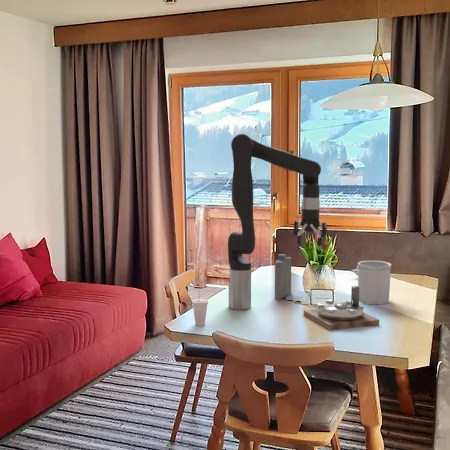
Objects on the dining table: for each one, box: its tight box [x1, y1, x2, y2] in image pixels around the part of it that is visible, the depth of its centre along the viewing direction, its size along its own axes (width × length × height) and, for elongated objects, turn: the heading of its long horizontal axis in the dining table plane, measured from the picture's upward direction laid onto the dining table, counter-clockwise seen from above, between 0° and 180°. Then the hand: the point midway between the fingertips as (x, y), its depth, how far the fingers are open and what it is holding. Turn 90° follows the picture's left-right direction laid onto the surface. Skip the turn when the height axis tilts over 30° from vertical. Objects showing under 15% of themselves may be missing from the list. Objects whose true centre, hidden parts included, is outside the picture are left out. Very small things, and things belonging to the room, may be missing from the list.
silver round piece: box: [317, 285, 365, 320], centre depth 233 cm, size 18×18×11 cm
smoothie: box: [191, 289, 209, 327], centre depth 227 cm, size 6×6×14 cm
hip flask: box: [274, 253, 292, 301], centre depth 274 cm, size 16×4×20 cm, turn 154°
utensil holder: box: [357, 260, 392, 305], centre depth 264 cm, size 15×15×18 cm
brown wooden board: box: [303, 308, 380, 331], centre depth 234 cm, size 22×22×2 cm
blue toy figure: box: [350, 265, 358, 276], centre depth 314 cm, size 12×12×8 cm
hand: (309, 245), depth 249 cm, fingers open, 8 cm apart
